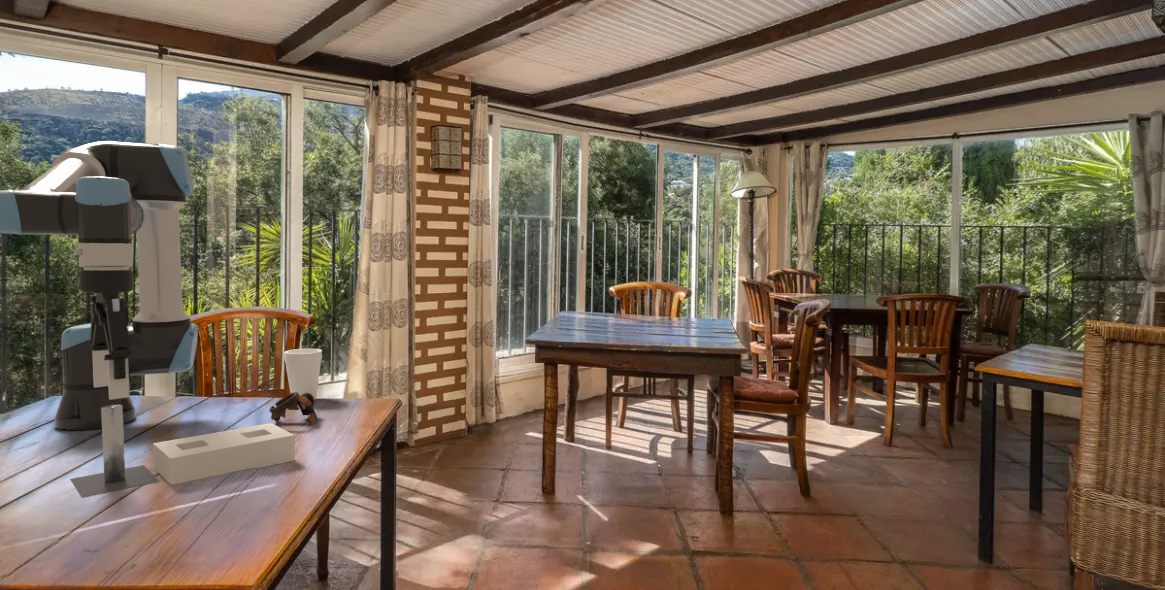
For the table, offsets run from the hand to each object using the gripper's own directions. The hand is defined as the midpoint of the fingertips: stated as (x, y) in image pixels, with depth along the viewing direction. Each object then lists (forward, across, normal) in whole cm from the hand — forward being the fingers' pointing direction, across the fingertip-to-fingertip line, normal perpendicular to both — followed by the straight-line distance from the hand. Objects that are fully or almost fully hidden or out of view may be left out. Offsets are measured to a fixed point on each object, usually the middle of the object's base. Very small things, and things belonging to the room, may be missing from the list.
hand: (111, 392), depth 116 cm
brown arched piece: (+16, -20, +39) cm, 47 cm away
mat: (+16, 0, 0) cm, 16 cm away
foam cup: (+16, -42, +50) cm, 68 cm away
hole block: (+16, +2, +17) cm, 24 cm away
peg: (+16, 0, 0) cm, 16 cm away
